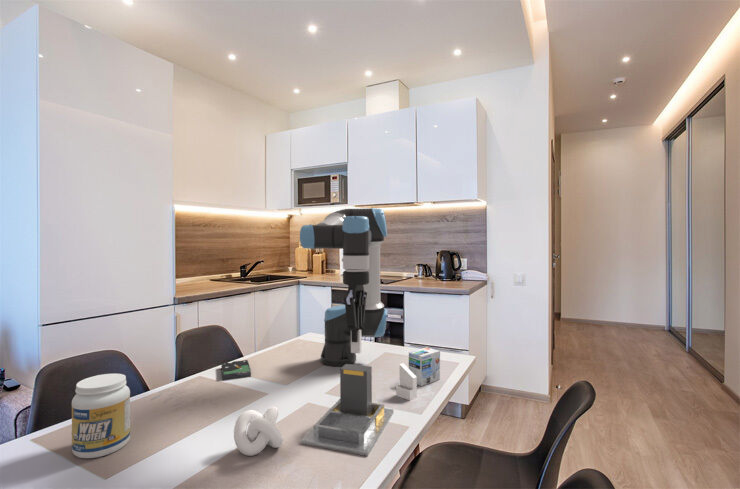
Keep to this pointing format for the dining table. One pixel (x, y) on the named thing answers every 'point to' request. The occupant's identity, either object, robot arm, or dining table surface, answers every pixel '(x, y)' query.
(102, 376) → the supplement tub
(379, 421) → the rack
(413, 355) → the light bulb box
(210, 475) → the dining table surface
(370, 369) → the grey block
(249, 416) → the white knot
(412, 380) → the white wedge bracket
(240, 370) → the disk drive
